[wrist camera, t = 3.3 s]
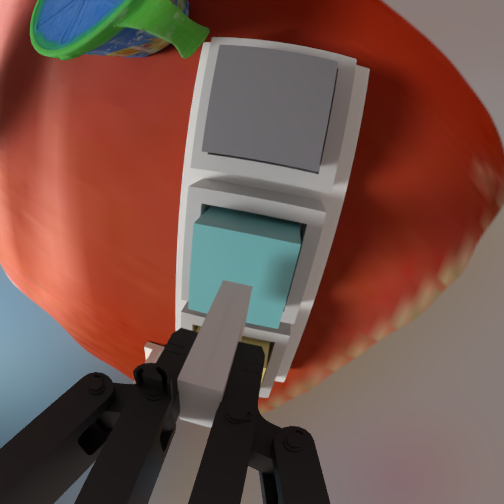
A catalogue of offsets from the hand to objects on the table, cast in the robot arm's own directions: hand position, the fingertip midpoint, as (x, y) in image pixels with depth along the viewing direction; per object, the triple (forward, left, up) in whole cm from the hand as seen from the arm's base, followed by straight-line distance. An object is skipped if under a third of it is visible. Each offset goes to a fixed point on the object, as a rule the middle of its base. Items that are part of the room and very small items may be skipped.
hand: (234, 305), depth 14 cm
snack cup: (-12, +18, -10) cm, 24 cm away
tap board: (0, 0, -10) cm, 10 cm away
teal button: (0, 0, -6) cm, 6 cm away
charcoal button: (0, +10, -6) cm, 12 cm away
